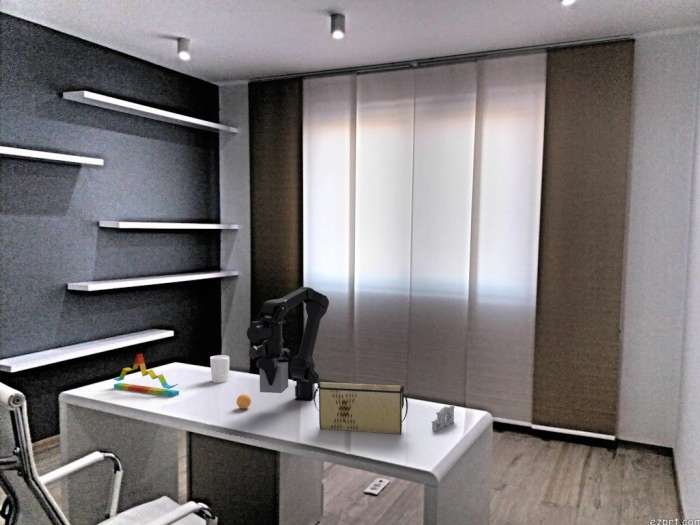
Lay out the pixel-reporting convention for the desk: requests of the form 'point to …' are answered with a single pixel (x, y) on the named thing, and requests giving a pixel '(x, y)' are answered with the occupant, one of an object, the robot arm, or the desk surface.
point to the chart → (145, 389)
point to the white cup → (220, 368)
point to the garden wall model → (443, 418)
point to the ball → (243, 401)
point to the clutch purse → (361, 407)
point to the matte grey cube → (279, 381)
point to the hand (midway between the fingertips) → (274, 382)
